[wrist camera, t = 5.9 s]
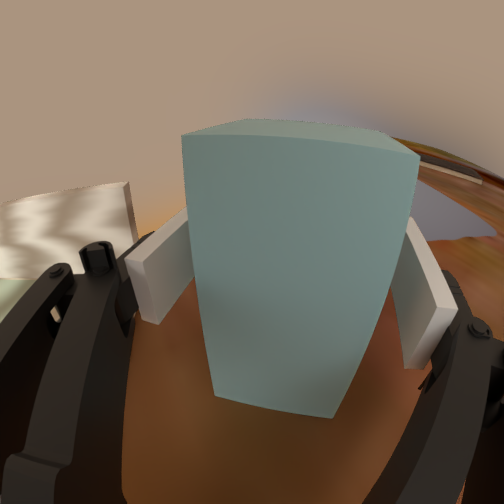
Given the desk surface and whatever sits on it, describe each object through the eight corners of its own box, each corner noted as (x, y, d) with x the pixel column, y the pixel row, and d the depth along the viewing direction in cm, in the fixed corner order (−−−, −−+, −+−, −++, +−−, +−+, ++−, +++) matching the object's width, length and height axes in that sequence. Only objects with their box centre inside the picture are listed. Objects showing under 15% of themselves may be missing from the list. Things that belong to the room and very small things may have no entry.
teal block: (340, 334, 17) (380, 131, 10) (332, 418, 12) (420, 156, 5) (247, 319, 18) (246, 118, 12) (214, 395, 13) (181, 135, 7)
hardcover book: (482, 187, 57) (483, 179, 56) (411, 165, 68) (413, 157, 67) (472, 176, 69) (473, 169, 68) (412, 158, 79) (413, 151, 78)
